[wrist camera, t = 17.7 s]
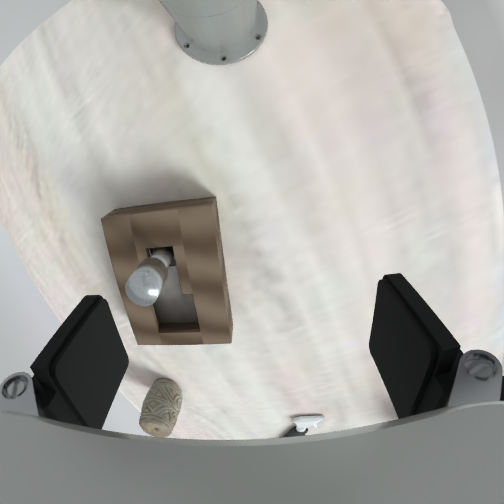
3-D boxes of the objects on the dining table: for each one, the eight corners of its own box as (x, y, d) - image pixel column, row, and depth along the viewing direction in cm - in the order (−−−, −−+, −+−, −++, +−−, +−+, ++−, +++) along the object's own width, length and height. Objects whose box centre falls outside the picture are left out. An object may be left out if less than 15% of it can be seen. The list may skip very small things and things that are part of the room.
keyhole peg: (149, 229, 45) (113, 270, 32) (184, 226, 44) (158, 267, 32) (156, 263, 47) (126, 312, 34) (190, 260, 47) (169, 311, 34)
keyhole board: (114, 209, 43) (100, 218, 39) (216, 196, 43) (211, 205, 38) (145, 327, 52) (137, 344, 47) (233, 324, 51) (231, 343, 47)
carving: (153, 371, 56) (138, 416, 45) (187, 383, 57) (178, 429, 46) (148, 388, 59) (134, 431, 48) (180, 400, 60) (171, 443, 49)
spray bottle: (270, 460, 72) (284, 412, 62) (308, 459, 72) (329, 411, 63) (271, 468, 69) (285, 422, 60) (309, 467, 69) (331, 420, 60)
